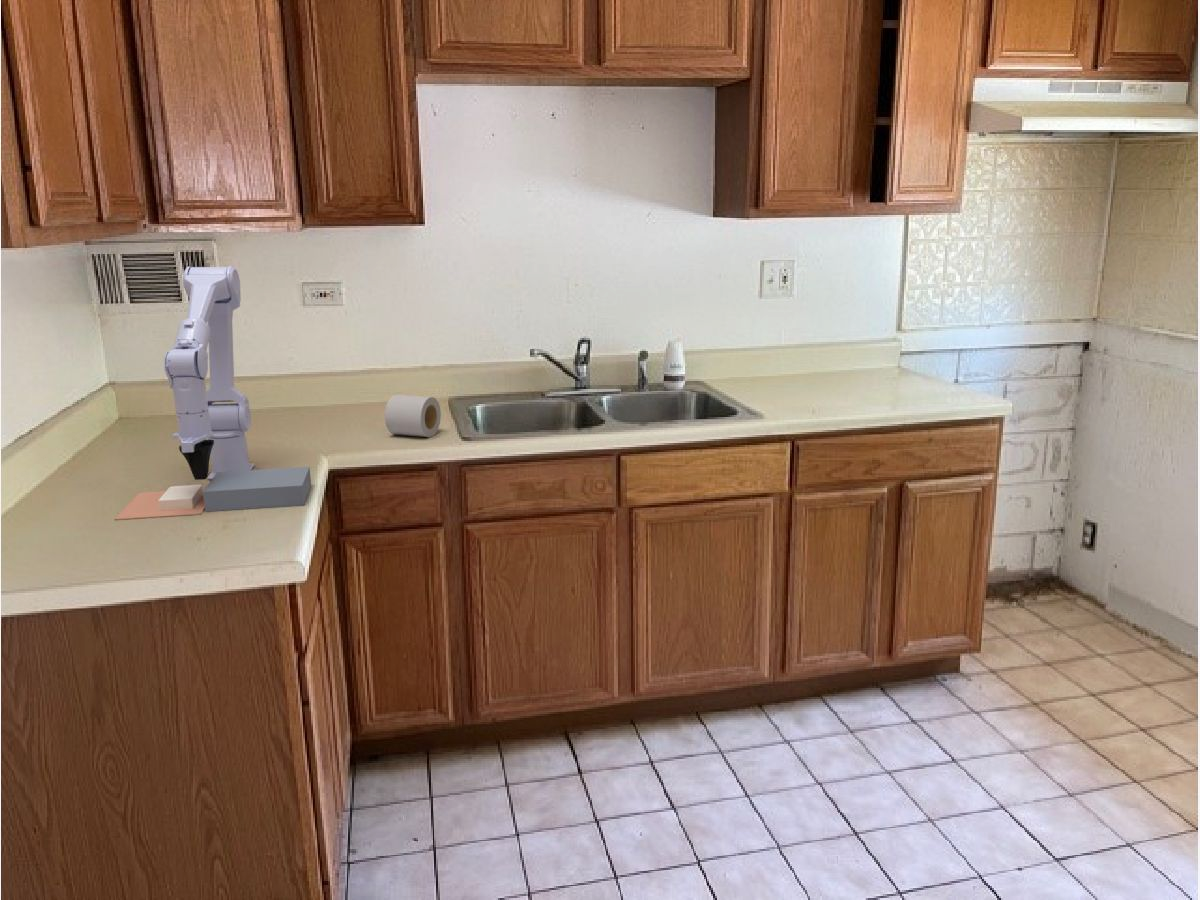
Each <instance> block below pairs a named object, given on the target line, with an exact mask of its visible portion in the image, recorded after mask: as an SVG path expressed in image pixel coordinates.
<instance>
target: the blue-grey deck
mask: <svg viewBox="0 0 1200 900" xmlns="http://www.w3.org/2000/svg"><path fill="white" fill-rule="evenodd" d="M310 468H311V467H310V466H299V467H298V466H297V467H281V468H278V467H277V468H267V469H266V468H264V469H263V468H262V469H252V470H244V471H227V472H217V473H216V474H215V476H214V477H213V479H210V481H209V483H208V484H207V485H206V487H205V488H204V489H205V490H204V491H203V496H204V504H205V509H204V511H205V512H206V513H207V512H218V511H219V512H220V511H235V510H251V509H264V508H280V507H294V506H295V507H296V506H305V503H306V500H307V498H308V495H309V493H310V490H311V488H312V479H311V478H312V477H311V476H312V475H311V469H310Z"/></svg>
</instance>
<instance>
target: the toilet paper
mask: <svg viewBox="0 0 1200 900" xmlns="http://www.w3.org/2000/svg"><path fill="white" fill-rule="evenodd" d="M441 415H442V413H441V407H440V404H439V401H438V400H437V399H436V397H434V396H433V397H432V396H424V395H423V396H420V395H406V394H394V395H392V396H390V397H389V399H388V401H387V403H386V406H385V410H384V421H385V422H384V423H385V426H386V428H387V429H386V430H388V432H389V433H390V434H392V435H400V436H411V437H413V436H414V437H424V438H432V437H434V436H433V435H436V434H437V432H438V430H439V428H440V424H441ZM431 436H432V437H431Z"/></svg>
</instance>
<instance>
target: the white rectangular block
mask: <svg viewBox="0 0 1200 900" xmlns="http://www.w3.org/2000/svg"><path fill="white" fill-rule="evenodd" d="M203 489H204V487H203V484H191V485H190V484H189V485H188V484H187V485H174V486H173V485H172V486H169V487H168V489H167V490H165V491H166V492H165V493H164V494H163V495H162V497H161V498H160V499H159V500H158V504H159V511H163V510H178V509H193V508H194V506H195V505H196V504H197V502H198V501H199V499H200V498H201V497H202V495H203Z"/></svg>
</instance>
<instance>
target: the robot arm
mask: <svg viewBox="0 0 1200 900" xmlns="http://www.w3.org/2000/svg"><path fill="white" fill-rule="evenodd" d="M182 274H183V276H182V282H183V283H182V284H183V288H184V291H185V293H186V294H187V297H188V300H189V301H188V309H187V318H185V319H183V320H181V321H180V322H179V325H178V328H177V331H176V337H175V340H174V343H173V346H172V347H173V348H171V349H170V350H169V351H166V353H165V354H164V360H163V362H164V373H165V375H166V377H167V379H168V385H169V387H170V389H172V393H173V399H174V405H175V406H174V407H175V412H176V414H175V415H176V421H177V422H176V423H177V429H178V432H175V433H173V434H172V439H178V440H179V442H180V445H179V446H178V449H179V452H180V453H181V455H182V456H183V457H184V459H185V460H186V462H187V464H188V466H189V469H190V471H191V474H192V476H193V479H194V480H195V481H197V480H202V481H203V480H212V479H213V477H214V476H215V474H216V473H217V472H227V471H244V470H253V468H254V466H255V463H253V462H252V463H251V462H250V458H249V449H248V441H247V437H246V435H245V433H247V432H248V431H249V429H250V428H251V424H252V413H251V409H250V402H249V398H248V396H247V395H246V394H244V393H243V392H241V391H239V390H238V389H237V388H235V371H234V370H235V368H234V367H235V365H234V364H235V362H234V335H233V334H234V333H233V317H234V311H235V310H237V309H238V308H240V306H241V300H242V298H241V297H242V296H241V295H242V294H241V280H240V276H239V273H238V271H237V269H236V268H235V267H234V265H229V266H187V267H185V269H184V270H183V273H182ZM207 350H208V352H207ZM208 361H209V362H208ZM208 372H209V389H208V390H207V387H206V377H207V375H208ZM231 402H232V403H231ZM233 402H234V403H233ZM210 462H211V463H210ZM210 464H211V470H212V471H211V472H210V474H209V467H210Z"/></svg>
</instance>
